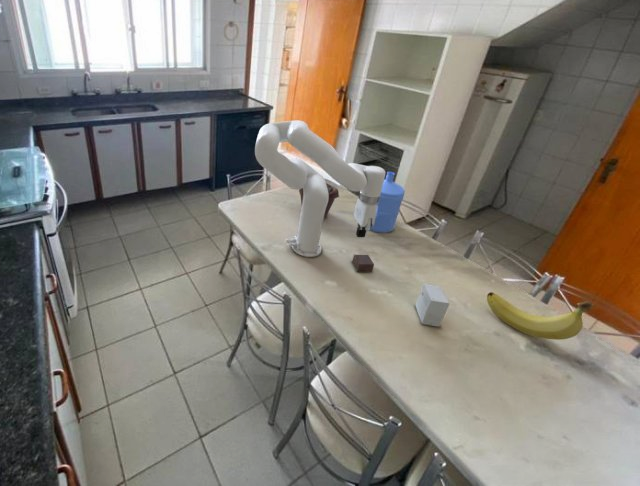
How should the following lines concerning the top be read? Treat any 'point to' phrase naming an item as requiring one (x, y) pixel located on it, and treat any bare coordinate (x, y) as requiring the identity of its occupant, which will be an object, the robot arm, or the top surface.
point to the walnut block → (362, 263)
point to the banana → (539, 319)
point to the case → (332, 195)
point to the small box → (432, 305)
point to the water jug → (388, 205)
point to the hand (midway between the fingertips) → (360, 236)
